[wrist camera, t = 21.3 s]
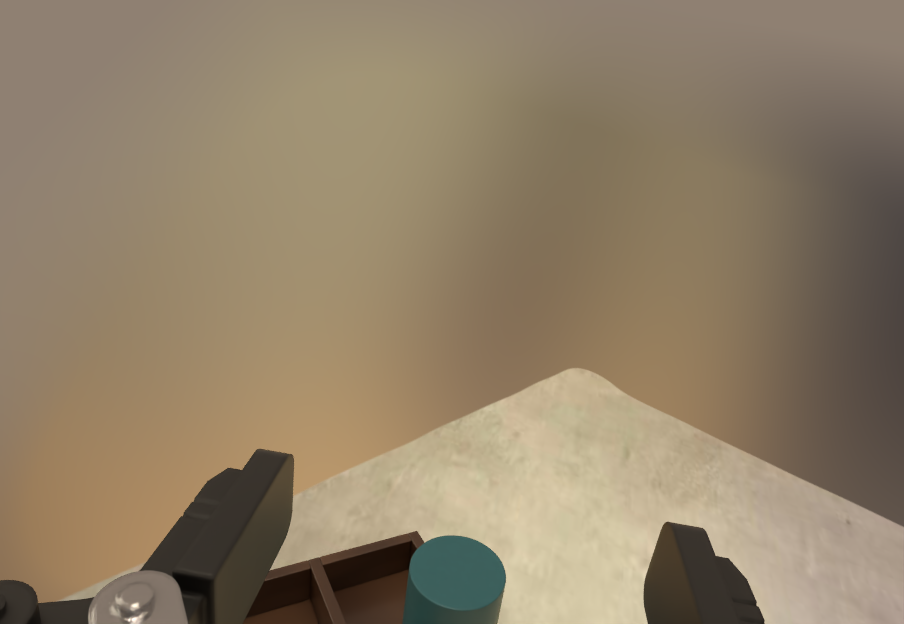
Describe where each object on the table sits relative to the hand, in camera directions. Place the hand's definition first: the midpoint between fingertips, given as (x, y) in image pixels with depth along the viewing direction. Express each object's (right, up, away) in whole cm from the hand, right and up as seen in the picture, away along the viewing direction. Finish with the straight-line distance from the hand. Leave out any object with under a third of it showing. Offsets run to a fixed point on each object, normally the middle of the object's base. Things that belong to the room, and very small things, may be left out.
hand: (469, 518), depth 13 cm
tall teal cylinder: (-1, -16, +19) cm, 25 cm away
